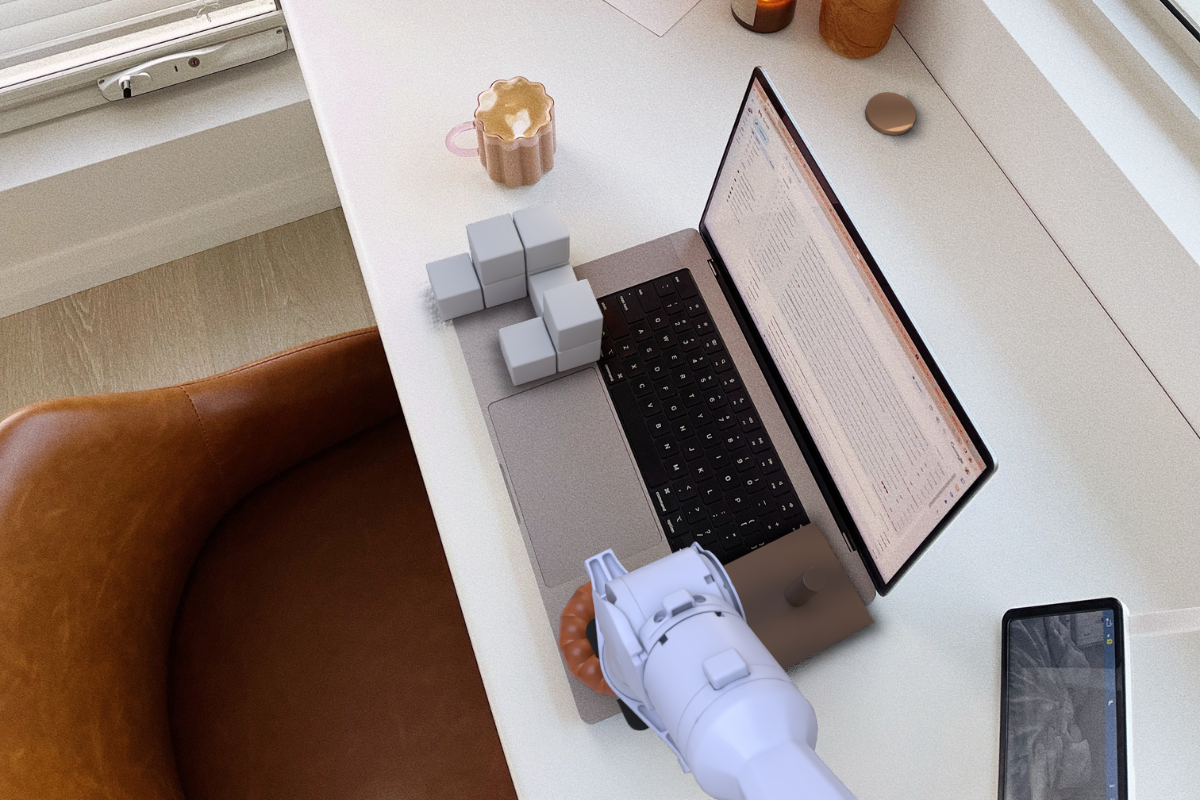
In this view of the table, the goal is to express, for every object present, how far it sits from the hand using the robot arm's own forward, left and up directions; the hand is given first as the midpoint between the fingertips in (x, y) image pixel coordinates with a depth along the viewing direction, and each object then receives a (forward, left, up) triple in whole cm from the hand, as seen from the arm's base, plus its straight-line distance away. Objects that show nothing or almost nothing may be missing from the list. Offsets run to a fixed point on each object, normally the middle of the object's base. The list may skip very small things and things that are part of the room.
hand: (637, 672), depth 67 cm
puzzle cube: (+32, -4, -4) cm, 32 cm away
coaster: (+38, -48, -4) cm, 61 cm away
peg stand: (0, -14, -4) cm, 15 cm away
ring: (+3, 0, 0) cm, 3 cm away
